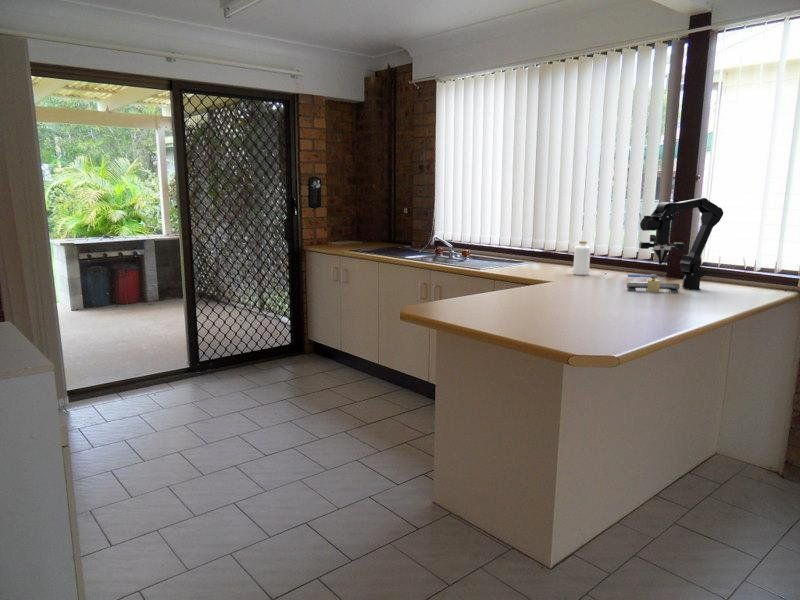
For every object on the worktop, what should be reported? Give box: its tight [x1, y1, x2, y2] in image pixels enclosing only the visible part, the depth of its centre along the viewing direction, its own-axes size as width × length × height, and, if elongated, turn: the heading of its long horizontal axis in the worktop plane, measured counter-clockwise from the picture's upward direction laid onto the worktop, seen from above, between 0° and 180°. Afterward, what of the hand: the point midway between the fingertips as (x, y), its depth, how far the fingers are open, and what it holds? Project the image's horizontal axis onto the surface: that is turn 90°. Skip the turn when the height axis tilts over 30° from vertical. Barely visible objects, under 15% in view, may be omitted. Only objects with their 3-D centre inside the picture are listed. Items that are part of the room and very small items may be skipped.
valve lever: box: [627, 273, 658, 279], centre depth 260 cm, size 12×3×1 cm, turn 77°
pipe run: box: [626, 278, 680, 294], centre depth 259 cm, size 22×5×6 cm, turn 76°
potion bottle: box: [572, 240, 592, 276], centre depth 307 cm, size 8×8×18 cm
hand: (660, 264), depth 261 cm, fingers closed
